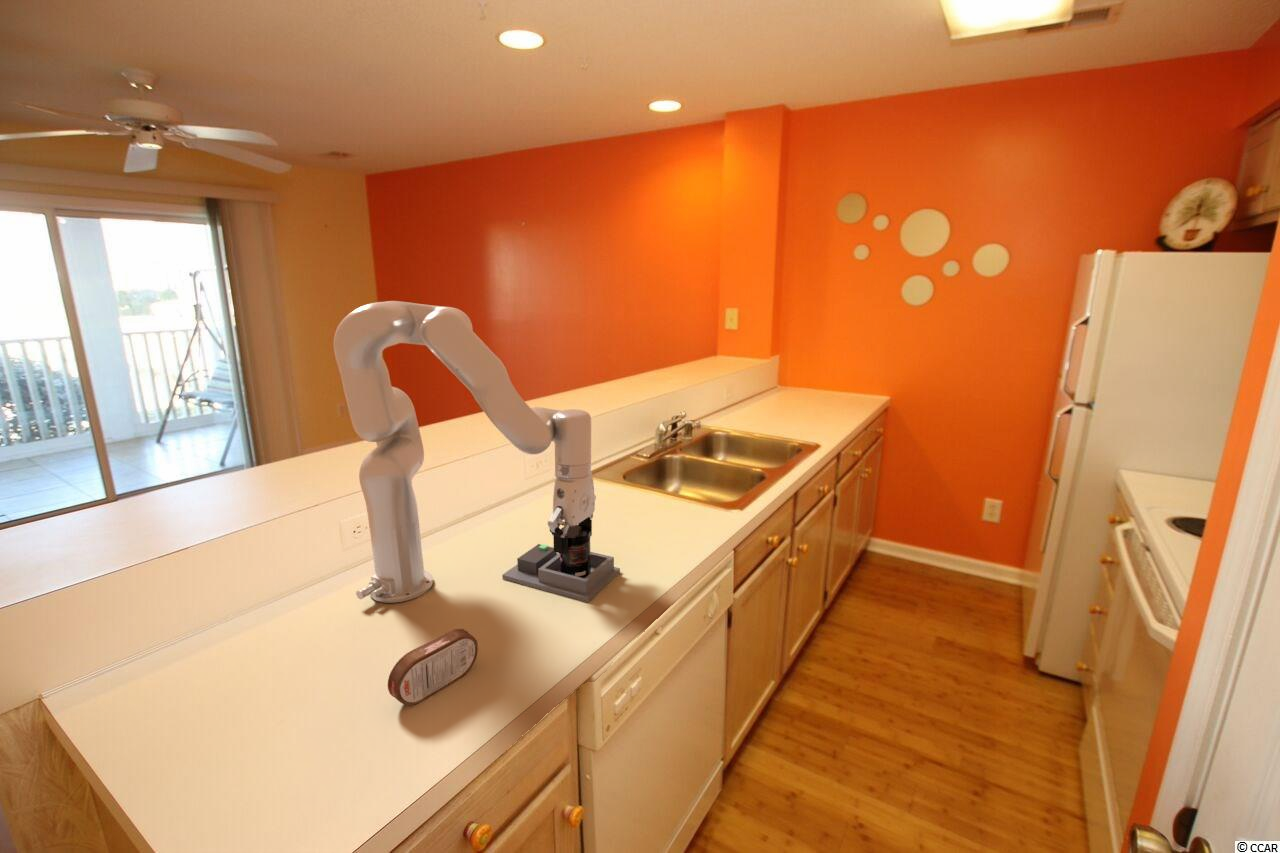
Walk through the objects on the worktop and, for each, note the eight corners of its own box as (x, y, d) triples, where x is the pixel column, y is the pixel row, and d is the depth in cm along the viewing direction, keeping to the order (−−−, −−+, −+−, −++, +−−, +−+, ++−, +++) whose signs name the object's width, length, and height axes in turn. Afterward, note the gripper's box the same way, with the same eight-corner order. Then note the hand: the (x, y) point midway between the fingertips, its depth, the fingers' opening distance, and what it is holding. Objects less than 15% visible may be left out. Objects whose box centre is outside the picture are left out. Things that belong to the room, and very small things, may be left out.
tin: (471, 660, 101) (468, 618, 99) (482, 668, 100) (479, 625, 97) (389, 709, 90) (383, 662, 88) (399, 718, 88) (394, 670, 86)
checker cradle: (588, 602, 119) (587, 582, 118) (502, 578, 129) (501, 560, 127) (620, 572, 132) (619, 553, 130) (539, 552, 141) (538, 535, 140)
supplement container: (582, 564, 133) (581, 522, 130) (596, 577, 127) (595, 533, 124) (555, 572, 129) (553, 528, 126) (568, 585, 124) (566, 540, 121)
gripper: (565, 484, 113) (566, 564, 117) (608, 460, 128) (607, 532, 132) (533, 477, 116) (535, 556, 120) (579, 455, 131) (579, 525, 135)
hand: (573, 543), depth 126 cm, fingers open, 9 cm apart
